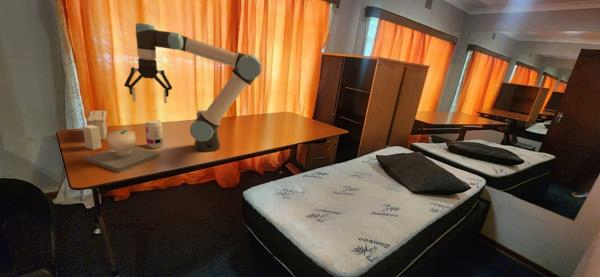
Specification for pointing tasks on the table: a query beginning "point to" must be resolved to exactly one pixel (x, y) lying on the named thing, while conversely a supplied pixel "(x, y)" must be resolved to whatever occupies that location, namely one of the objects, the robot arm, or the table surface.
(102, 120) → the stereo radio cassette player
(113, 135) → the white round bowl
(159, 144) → the supplement can
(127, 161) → the base
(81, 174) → the table surface
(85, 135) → the skincare box
